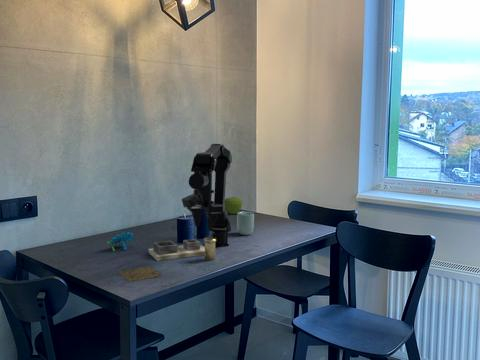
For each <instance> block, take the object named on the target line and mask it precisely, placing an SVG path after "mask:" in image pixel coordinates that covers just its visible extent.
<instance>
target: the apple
mask: <svg viewBox="0 0 480 360" xmlns="http://www.w3.org/2000/svg"><path fill="white" fill-rule="evenodd" d="M242 207H243V200H242V199H241V198H239V197H236V196H235V197H234V196H231V197H225V209H226V211H227V213H228V215H229V214H230V215H236V214H237V213H238V212H241V211H240V210H241V209H242Z"/></svg>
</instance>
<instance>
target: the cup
mask: <svg viewBox="0 0 480 360" xmlns="http://www.w3.org/2000/svg"><path fill="white" fill-rule="evenodd" d="M236 214H237V215H236V226H237V232H238V233H239V234H240V235H242V236H249V235H252V233H253V231H254V227H255V213H254V212H253V211H239V212H238V213H236Z"/></svg>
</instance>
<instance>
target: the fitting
mask: <svg viewBox="0 0 480 360" xmlns="http://www.w3.org/2000/svg"><path fill="white" fill-rule="evenodd" d="M203 242H204V246H205V255H204V260H205V261H208V262H209V261H211V262H212V261H215V260H216V247H215V242H216V238H212V237H204V238H203Z"/></svg>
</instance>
